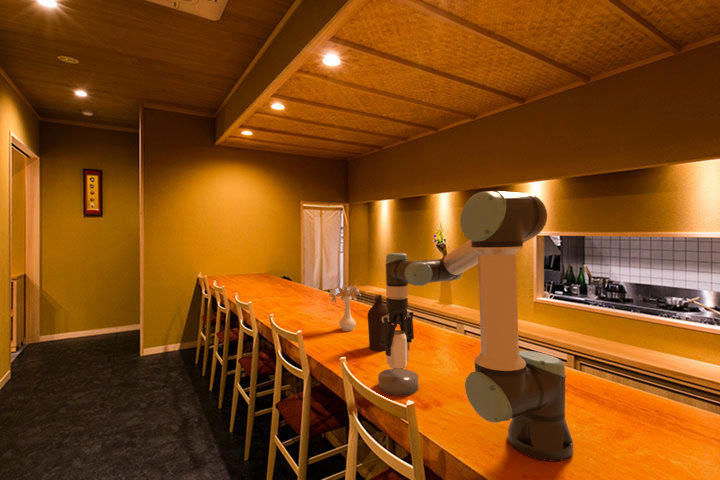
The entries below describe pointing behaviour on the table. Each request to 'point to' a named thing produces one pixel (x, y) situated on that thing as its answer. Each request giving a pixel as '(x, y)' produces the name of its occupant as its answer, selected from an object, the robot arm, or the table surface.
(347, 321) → the flower vase
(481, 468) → the table surface
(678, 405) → the table surface
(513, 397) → the robot arm
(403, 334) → the can
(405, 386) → the stand
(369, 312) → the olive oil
